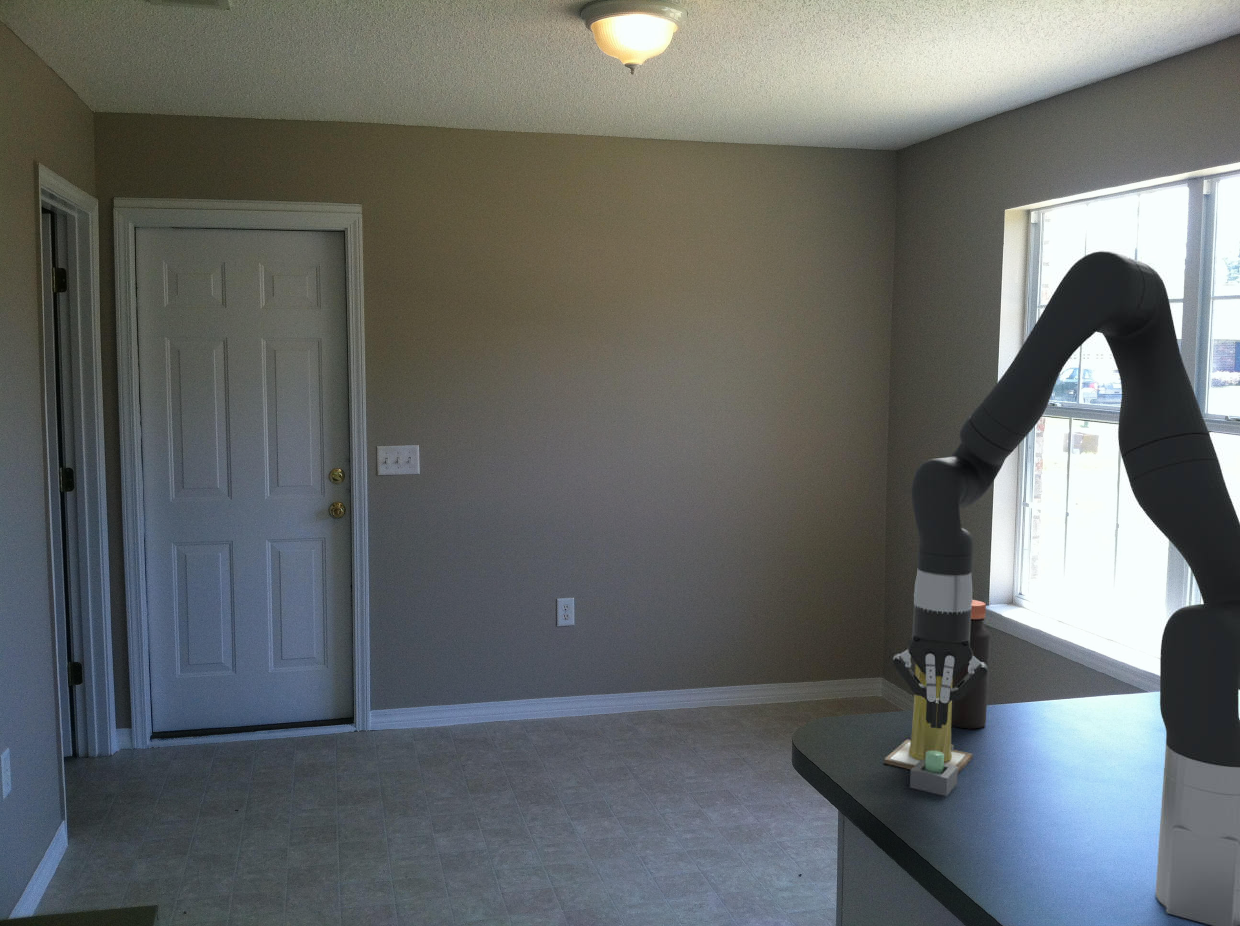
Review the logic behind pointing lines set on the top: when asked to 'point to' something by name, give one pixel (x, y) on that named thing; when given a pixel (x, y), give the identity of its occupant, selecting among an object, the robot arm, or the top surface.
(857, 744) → the top surface
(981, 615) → the bottle
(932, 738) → the vase
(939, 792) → the button housing
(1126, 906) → the top surface
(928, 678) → the robot arm
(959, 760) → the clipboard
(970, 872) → the top surface
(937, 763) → the button
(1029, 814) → the top surface
